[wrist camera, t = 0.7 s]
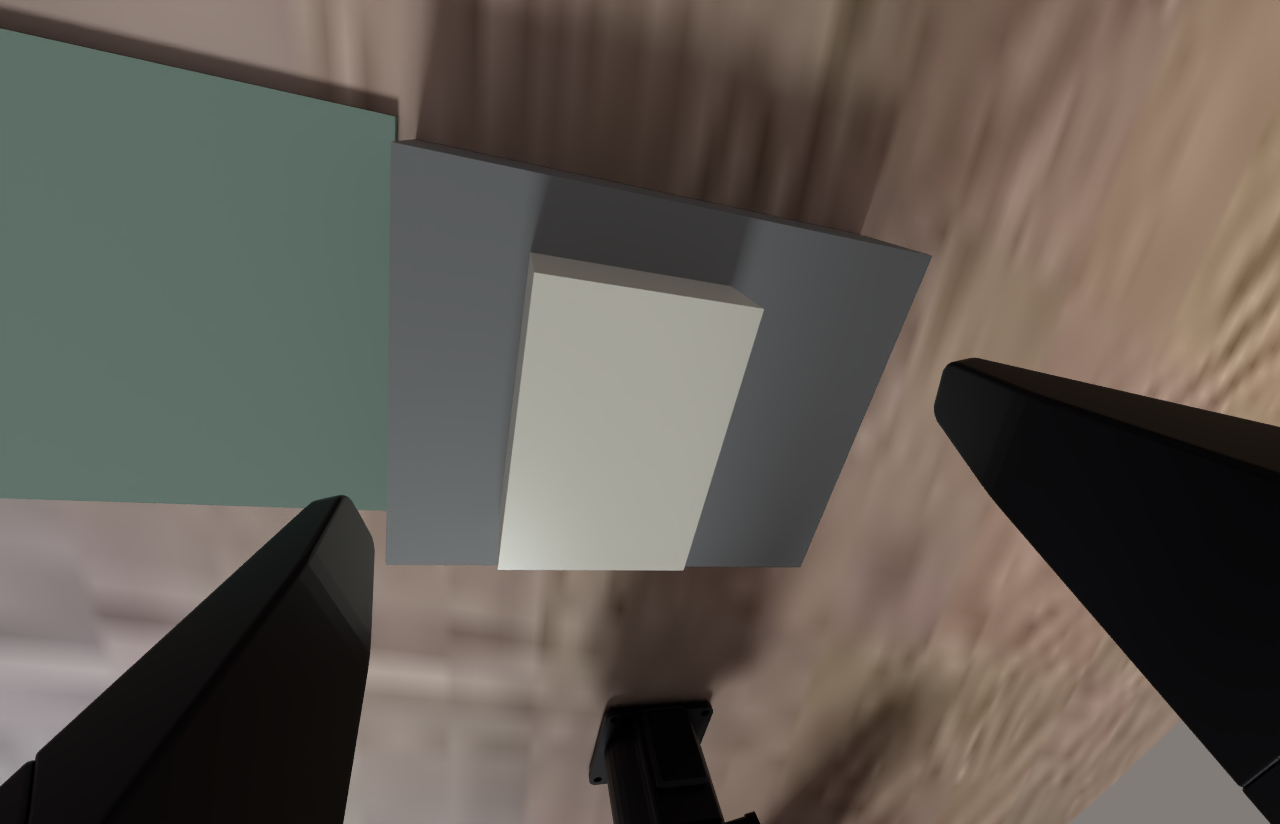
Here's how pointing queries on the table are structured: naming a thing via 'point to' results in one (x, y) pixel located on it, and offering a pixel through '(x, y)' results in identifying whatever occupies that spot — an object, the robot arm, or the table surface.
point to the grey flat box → (640, 240)
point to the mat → (188, 286)
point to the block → (617, 414)
